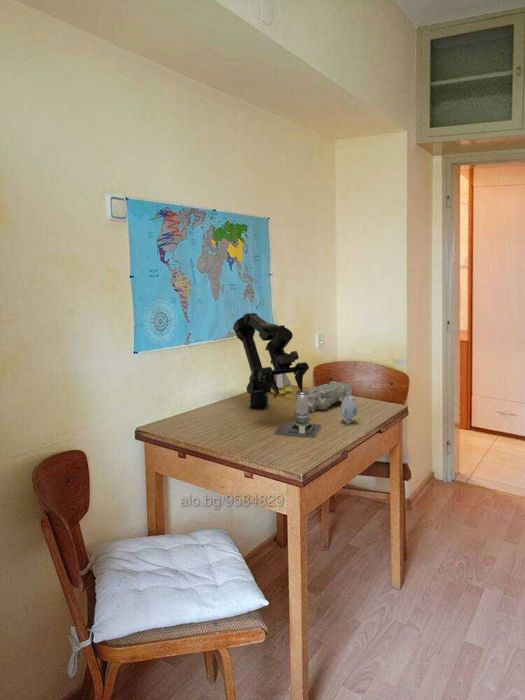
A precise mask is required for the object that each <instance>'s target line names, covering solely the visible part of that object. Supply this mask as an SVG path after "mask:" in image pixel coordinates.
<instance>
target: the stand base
mask: <svg viewBox="0 0 525 700" xmlns="http://www.w3.org/2000/svg"><path fill="white" fill-rule="evenodd" d="M295 422H296V421H282V423H281V424H280V425H279V426H278V427H277V429H275V431H274V435H280V436H288V437H289V436H290V437H291V436H292V437H299V436H300V437H299V438H309V437H314V438H313V439H315V438H316V437H317V436H318V434H319V432H320V430H322V429H321V428H322V424H321V423H320V424H319V423H318V424H317V423H309V426H308V430H306V426H303V425H300V426H299V430H298V429H296V426H295ZM317 433H318V434H317ZM315 436H316V437H315Z"/></svg>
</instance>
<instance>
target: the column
mask: <svg viewBox="0 0 525 700" xmlns="http://www.w3.org/2000/svg"><path fill="white" fill-rule="evenodd" d="M308 391H309V390H302V391H300V390H297V391H295V410H294V419H293V420H294V422H295V426H296V429H298V430H299V426H300V425H303V426H306V430H308V426H309V424H310V423H309V421H310V417H309V415H310V411H309V410H308V398H309V392H308Z"/></svg>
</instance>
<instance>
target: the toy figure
mask: <svg viewBox="0 0 525 700" xmlns="http://www.w3.org/2000/svg"><path fill="white" fill-rule="evenodd" d="M339 412H340V414H341V416H342V418H344V419H345V420H344V423H345V424H348V425H350V424H351V423H353V422H354V420H353V419H354V418H355V417H356V415H357V413H358V406H357V404H356V401H355V398H354V397H353V396H352V390H350V392H347V394H346V397H345V398H344V400H343V402H341V405H340V408H339Z"/></svg>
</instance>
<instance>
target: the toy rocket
mask: <svg viewBox="0 0 525 700" xmlns="http://www.w3.org/2000/svg"><path fill="white" fill-rule="evenodd" d="M274 378H275V381H276V384H277V387H278V390H279V395H277V393H276V392H275V391H274V390H273V389H272V388H271V392H270V393H269V392H268V393H267V396H268V398H275V400H286V399H285V398H289V397H290V398H293V397H294V396H293V394H292V392H293V389H292V387H291V386H293V384H292V382H291V381H290V379H289V377H288V375H287V373H286V374H278V375H274ZM275 395H276V396H275Z"/></svg>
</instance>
